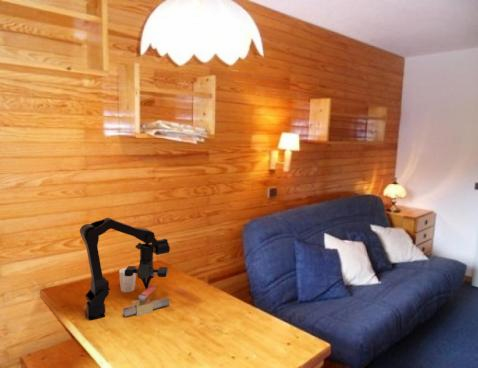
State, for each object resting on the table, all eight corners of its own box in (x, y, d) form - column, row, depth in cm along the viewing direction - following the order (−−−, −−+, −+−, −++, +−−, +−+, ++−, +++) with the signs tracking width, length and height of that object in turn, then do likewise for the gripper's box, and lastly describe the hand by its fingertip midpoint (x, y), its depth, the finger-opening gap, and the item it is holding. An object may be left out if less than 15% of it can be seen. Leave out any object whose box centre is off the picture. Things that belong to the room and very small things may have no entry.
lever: (144, 301, 159) (144, 297, 159) (137, 300, 160) (137, 296, 159) (156, 288, 172) (156, 285, 172) (150, 288, 173) (150, 284, 173)
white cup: (133, 293, 180) (133, 273, 179) (117, 292, 180) (116, 273, 179) (138, 286, 188) (137, 267, 187) (122, 286, 188) (122, 267, 187)
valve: (126, 319, 155) (126, 307, 154) (121, 313, 160) (121, 301, 159) (170, 307, 166) (170, 296, 165) (165, 302, 171) (165, 291, 170)
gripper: (120, 262, 160) (121, 296, 162) (164, 263, 161) (163, 297, 163) (127, 253, 171) (128, 285, 173) (168, 254, 172) (168, 286, 174)
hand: (146, 289), depth 171 cm, fingers closed
